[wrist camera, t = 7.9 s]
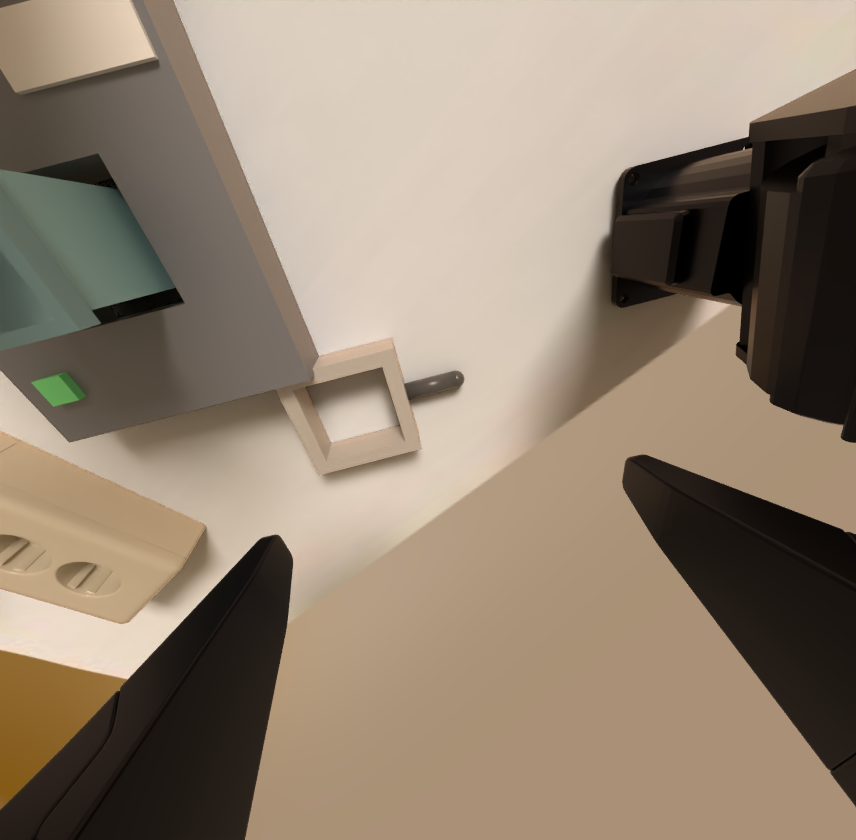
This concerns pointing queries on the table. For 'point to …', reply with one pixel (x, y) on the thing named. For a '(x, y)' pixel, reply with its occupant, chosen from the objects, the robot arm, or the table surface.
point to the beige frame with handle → (372, 444)
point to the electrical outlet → (84, 536)
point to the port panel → (145, 217)
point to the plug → (67, 256)
